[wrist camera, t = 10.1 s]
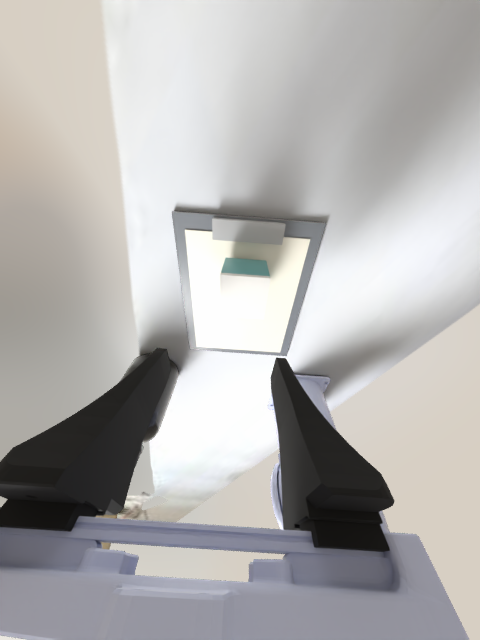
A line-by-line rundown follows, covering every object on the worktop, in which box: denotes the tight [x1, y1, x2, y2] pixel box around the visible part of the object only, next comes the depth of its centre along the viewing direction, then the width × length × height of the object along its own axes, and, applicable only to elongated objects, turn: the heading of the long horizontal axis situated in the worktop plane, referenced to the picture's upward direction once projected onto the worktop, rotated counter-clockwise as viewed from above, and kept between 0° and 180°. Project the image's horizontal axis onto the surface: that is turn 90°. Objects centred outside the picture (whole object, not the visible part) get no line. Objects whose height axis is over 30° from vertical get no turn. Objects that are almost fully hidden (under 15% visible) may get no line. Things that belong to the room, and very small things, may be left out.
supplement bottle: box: [121, 354, 179, 466], centre depth 23 cm, size 7×7×12 cm
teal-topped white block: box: [220, 258, 271, 320], centre depth 16 cm, size 4×4×5 cm
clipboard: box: [172, 211, 326, 356], centre depth 20 cm, size 16×13×1 cm
